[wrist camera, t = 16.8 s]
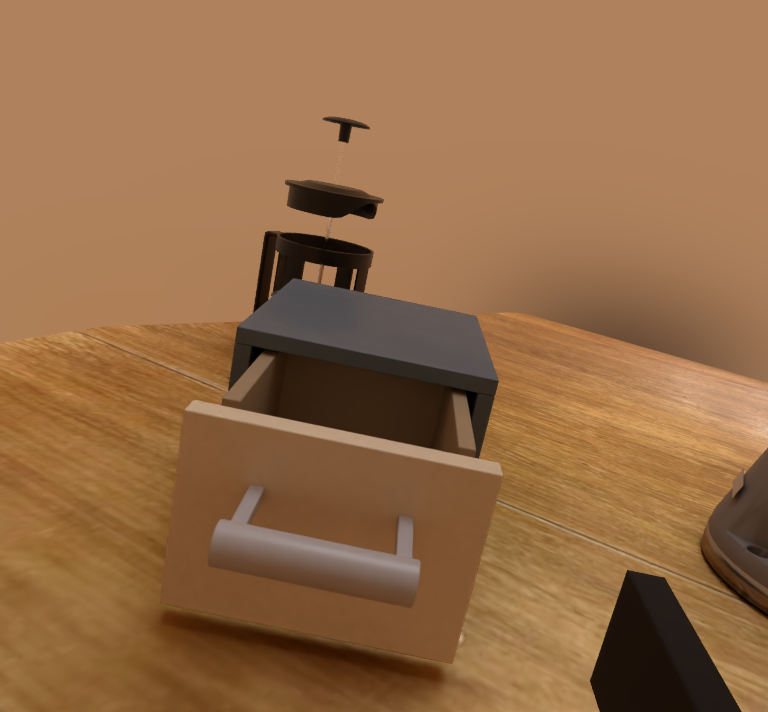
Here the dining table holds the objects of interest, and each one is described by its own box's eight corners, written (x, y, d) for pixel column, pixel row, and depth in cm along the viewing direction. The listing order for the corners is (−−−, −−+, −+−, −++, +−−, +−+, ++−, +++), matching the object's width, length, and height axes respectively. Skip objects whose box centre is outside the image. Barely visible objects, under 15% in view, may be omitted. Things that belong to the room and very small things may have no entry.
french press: (375, 373, 68) (424, 135, 62) (324, 393, 60) (373, 120, 54) (281, 340, 73) (317, 115, 67) (221, 353, 65) (256, 99, 59)
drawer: (457, 759, 24) (520, 540, 22) (108, 687, 24) (132, 460, 22) (443, 501, 43) (476, 367, 41) (245, 460, 43) (267, 324, 41)
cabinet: (452, 560, 38) (499, 380, 36) (210, 510, 38) (237, 326, 36) (444, 448, 54) (476, 315, 51) (271, 412, 54) (293, 278, 51)
